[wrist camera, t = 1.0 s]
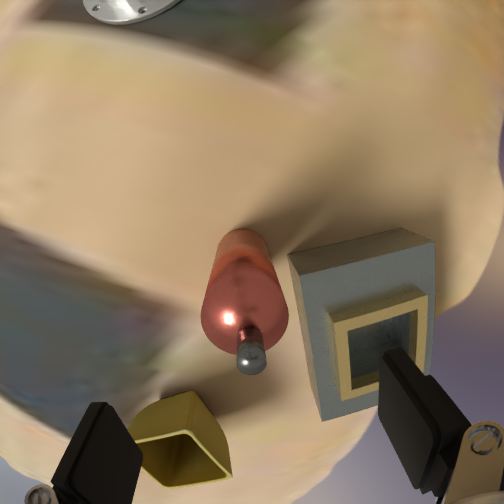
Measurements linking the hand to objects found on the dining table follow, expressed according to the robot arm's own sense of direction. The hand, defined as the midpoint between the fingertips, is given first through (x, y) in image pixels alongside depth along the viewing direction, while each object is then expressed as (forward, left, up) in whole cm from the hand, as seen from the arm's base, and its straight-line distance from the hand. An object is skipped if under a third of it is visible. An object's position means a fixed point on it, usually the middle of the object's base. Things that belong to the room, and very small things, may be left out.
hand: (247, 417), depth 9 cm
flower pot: (+17, -11, -20) cm, 29 cm away
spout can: (0, 0, -20) cm, 20 cm away
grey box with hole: (+9, +10, -20) cm, 24 cm away
